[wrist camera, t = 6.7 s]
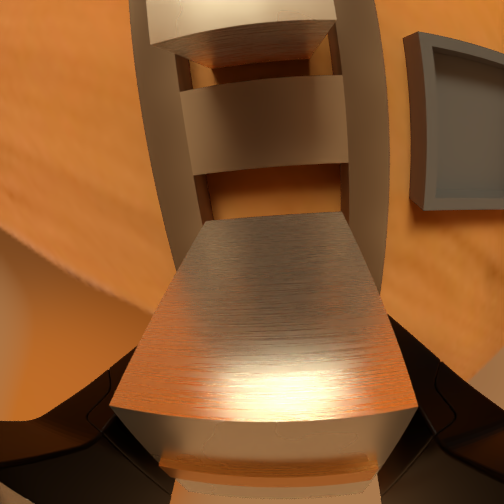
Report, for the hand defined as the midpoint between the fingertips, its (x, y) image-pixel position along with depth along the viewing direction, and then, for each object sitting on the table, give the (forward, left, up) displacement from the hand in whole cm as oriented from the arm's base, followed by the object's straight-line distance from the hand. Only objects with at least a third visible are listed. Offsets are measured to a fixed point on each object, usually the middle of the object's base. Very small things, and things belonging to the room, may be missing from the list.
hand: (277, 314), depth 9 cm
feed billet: (0, 0, -2) cm, 2 cm away
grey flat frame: (0, -5, -7) cm, 9 cm away
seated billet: (0, -10, -7) cm, 12 cm away
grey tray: (-11, -5, -7) cm, 14 cm away
